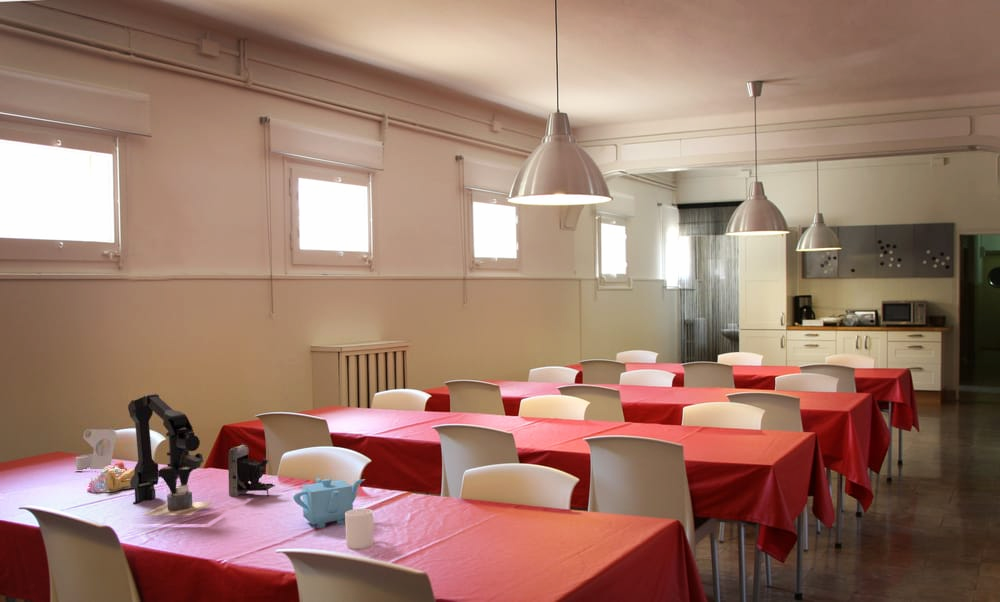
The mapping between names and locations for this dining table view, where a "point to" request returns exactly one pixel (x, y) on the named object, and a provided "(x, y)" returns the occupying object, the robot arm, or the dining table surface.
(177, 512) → the mount board
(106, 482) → the candy landscape model
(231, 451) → the vintage camera
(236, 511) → the dining table surface
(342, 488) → the teakettle
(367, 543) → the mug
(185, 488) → the beige mottled stone
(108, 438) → the phone holder
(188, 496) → the ring
